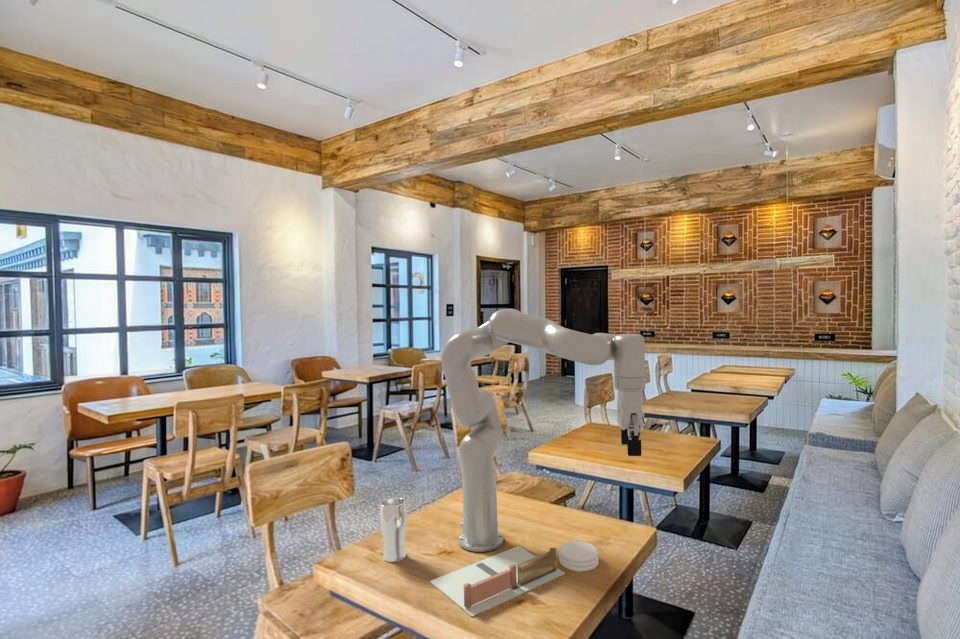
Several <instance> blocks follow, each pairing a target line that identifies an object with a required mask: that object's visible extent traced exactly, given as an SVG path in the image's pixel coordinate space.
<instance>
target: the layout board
mask: <svg viewBox="0 0 960 639" xmlns="http://www.w3.org/2000/svg"><path fill="white" fill-rule="evenodd" d="M534 557H537V556H536V555H535V554H533V553H531V552H529V551H527V550H525V549H524V548H522V547H520V546H518V545H517V546H515V547H512V548H510V549H507V550H505V551H502V552H499V553H497V554H495V555H492V556H490V557H487V558H485V559H482V560H479V561H477V562H475V563H472V564H469V565H467V566H464V567H461V568H459V569H457V570H453V571H451V572H449V573H446V574H444V575H441V576H439V577H436V578H433V579H432V580H429V583H430V584H431V585H433V586H434V587H435V588H436V589H438V591H440V592H441V593H442V594H443V595H444V596H446V597H447V598H448V599H449V598H450V599H449V600H451V601H452V603H454V604H455V605H457V607H459V608H460V609H461V610H463V612H465V613H466V614H467V613H468V614H467V615H469V617H471V616H474V617H475V615H476V616H478V615H480V614H482V613H484V611H485V612H487V611H489V610H491V609H493V608H495V607H497V606H500V605H501V604H503V603H506V602H509V601H510V600H512V599H514V598H516V597H519V596H521V595H523V594H525V593H527V592H529V591H532V590H533V589H536V588H538V587H540V586H542V585H544V584H547V583H548V582H551V581H552V580H555V579H557V578H559V577H561V576H564V575H566V573H565V571H563V570H561V569H559V568H557V570H555V571H553V570H551V571H549V572H547V573H544V574H542V575H540V576H538V577H536V578H533V579H531V580H529V581H527V582H525V583H522V584H519V583H518V572H517V565H518V564H520V563H523V562H525V561H527V560H530V559H532V558H534ZM512 564H514V565H516V578H517V586H516V587H511V588H509V589H507V590H505V591H503V592H501V593H498V594H496V595H494V596H492V597H490V598H487V599H485V600H483V601H481V602H478V603H476V604H474V605H472V606H471V607H469V608H466V607H464V584H466V583H469V584H471V585H472V584H474V583H477V582H479V581H481V580H484V579H486V578H488V577H491V576H493V575H496V574H498V573H500V572H503V571H505V570H507V569H508V570H509V566H510V565H512ZM486 610H487V611H486ZM481 612H482V613H481ZM479 613H480V614H479ZM477 614H478V615H477Z"/></svg>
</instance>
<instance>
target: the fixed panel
mask: <svg viewBox="0 0 960 639" xmlns="http://www.w3.org/2000/svg"><path fill="white" fill-rule="evenodd" d="M557 565H558V564H557V548H556V547H550V548H549V551H547V552H545V553H542V554H539V555H537V556H536V557H534V558H532V559H530V560H527V561H525V562H523V563H520V564H518V565H517V572H518V583H519V584H522V583H525V582H527V581H529V580H531V579H533V578H536V577H538V576H540V575H542V574H544V573H547V572H549V571H551V570H553V571H555V570H557V569H558V568H557Z"/></svg>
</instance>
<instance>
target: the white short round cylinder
mask: <svg viewBox="0 0 960 639" xmlns="http://www.w3.org/2000/svg"><path fill="white" fill-rule="evenodd" d="M558 553H559V554H558V557H559V559H558V561H559V563H560V565H561V566H562V567H564V569H567V570H570V571H573V572H581V573H582V572H583V571H584V572H589V571H592V570H594V569H596V568H597V567H598V566H599V562H600V561H599V550H598V548H597V547H596V546H595V545H593V544H591V543H589V542H585V541H579V540H578V541H577V540H575V541H567V542H565V543H563V544H561V545H560V547H559V549H558ZM584 572H583V573H584Z"/></svg>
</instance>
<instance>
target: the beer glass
mask: <svg viewBox="0 0 960 639" xmlns="http://www.w3.org/2000/svg"><path fill="white" fill-rule="evenodd" d="M379 505H380V506H379V523H380V530H381V534H382V535H381V536H382V539H383V545H384V546H383V555H382V556H383V557H382V558H383V560H384V561H385V562H386V563H387V562H388V563H398V562H400V561H403V560H405V558H406V557H407V551H406V549H405V535H406V530H407V529H406V528H407V508H406V500H405V499H404V498H402V497H388V498H385V499H382V500H381V501H380V503H379Z"/></svg>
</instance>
